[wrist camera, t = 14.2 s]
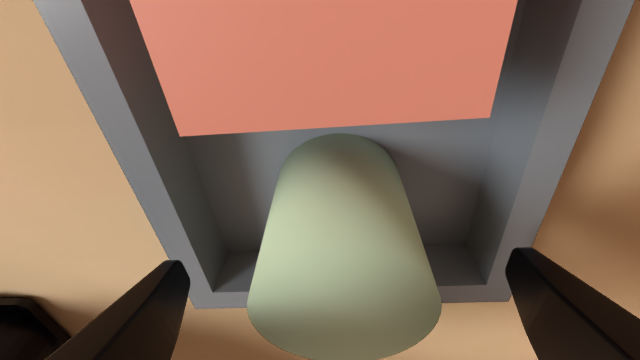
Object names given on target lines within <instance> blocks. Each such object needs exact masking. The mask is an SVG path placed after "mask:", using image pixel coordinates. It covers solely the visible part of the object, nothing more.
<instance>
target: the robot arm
mask: <svg viewBox="0 0 640 360" xmlns="http://www.w3.org/2000/svg"><path fill="white" fill-rule="evenodd" d="M505 275H506V279H507V282H508V284H509V287H510V290H511V293H512V296H513V298H514V301H515V304H516V307H517V310H518V312H519V315H520V318H521V321H522V324H523V326H524V329H525V331H526V334H527V336H528V338H529V341H530V343H531V345H532V347H533V349H534V351H535V353H536V355H537V358H538V360H640V319H639V318H637V317H636V316H634V315H633V314H631V313H630V312H628V311H627V310H625V309H624V308H622V307H621V306H619V305H618V304H616V303H615V302H613V301H612V300H610V299H609V298H607V297H606V296H604V295H603V294H601V293H600V292H598V291H597V290H595V289H594V288H592V287H591V286H589V285H588V284H586V283H585V282H583V281H582V280H580V279H579V278H577V277H576V276H574V275H573V274H571V273H570V272H568V271H567V270H565V269H564V268H562V267H561V266H559V265H558V264H556V263H555V262H553V261H552V260H550V259H549V258H547V257H546V256H544V255H543V254H541V253H540V252H538V251H537V250H535V249H533V248H531V247H516V248H514V249H513V250H512V251H511V254H510V257H509V259H508V262H507V265H506V268H505ZM190 284H191V282H190V277H189V275H188V273H187V271H186V269H185V267H184V265H183V263H182V262H181V261H180V260H166V261H164V262H162V263H161V264H160V265H159V266H158V267H156V268H155V269H154V270H153V271H152V272H150V273H149V274H148V275H147V276H145V277H144V278H143V279H142V280H141V281H139V282H138V283H137V284H136V285H135V286H133V287H132V288H131V289H130V290H129V291H127V292H126V293H125V294H124V295H123V296H121V297H120V298H119V299H118V300H117V301H115V302H114V303H113V304H112V305H111V306H109V307H108V308H107V309H106V310H104V311H103V312H102V313H101V314H100V315H98V316H97V317H96V318H95V319H94V320H92V321H91V322H90V323H89V324H88V325H86V326H85V327H84V328H83V329H82V330H80V331H79V332H78V333H77V334H76V335H74V336H73V337H72V338H71V339H70V338H69V337H68V336H67V335H66V334H65V333H64V332H63V331H62V330H61V329H60V328H59V327H58V326H57V325H56V324H55V323H54V322H53V321H52V320H51V319H50V318H49V317H48V316H47V315H46V314H45V313H44V312H43V311H42V310H41V309H40V308H39V307H38V306H37V305H36V304H35V303H34V302H32V301H31V300H28V299H25V298H0V360H170V359H171V356H172V353H173V350H174V348H175V344H176V341H177V338H178V334H179V331H180V327H181V323H182V318H183V314H184V310H185V306H186V302H187V298H188V294H189V290H190Z"/></svg>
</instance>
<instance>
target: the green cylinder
mask: <svg viewBox="0 0 640 360" xmlns="http://www.w3.org/2000/svg"><path fill="white" fill-rule="evenodd" d="M441 307H442V305H441V297H440V294H439V291H438V288H437V285H436V282H435V279H434V276H433V273H432V270H431V267H430V264H429V261H428V258H427V255H426V252H425V249H424V246H423V243H422V240H421V237H420V234H419V231H418V228H417V225H416V222H415V219H414V217H413V214H412V211H411V208H410V205H409V202H408V199H407V196H406V193H405V190H404V187H403V184H402V181H401V178H400V175H399V172H398V169H397V166H396V164H395V162H394V160H393V159H392V157H391V156H390V155H389V153H388V152H387V151H386V150H385V149H383V148H382V147H381V146H380V145H378V144H377V143H375V142H373V141H371V140H369V139H367V138H364V137H362V136H358V135H354V134H346V133H333V134H326V135H322V136H318V137H315V138H312V139H310V140H308V141H306V142H304V143H302V144H301V145H299V146H298V147H297V148H295V149H294V150H293V151H292V152H291V153H290V154H289V156H288V157H287V158H286V159H285V161H284V163H283V165H282V167H281V170H280V172H279V176H278V180H277V184H276V188H275V192H274V196H273V200H272V204H271V208H270V212H269V216H268V220H267V224H266V228H265V232H264V236H263V240H262V244H261V248H260V251H259V255H258V259H257V263H256V267H255V271H254V275H253V279H252V283H251V287H250V291H249V295H248V300H247V311H248V315H249V318H250V320H251V322H252V324H253V326H254V327H255V329H256V330H257V331H258V332H259V333H260V334H261V335H262V336H263V337H264V338H265V339H266V340H268V341H269V342H270V343H272V344H273V345H275V346H277V347H278V348H280V349H282V350H284V351H287V352H289V353H292V354H294V355H297V356H301V357H304V358H308V359H313V360H376V359H381V358H385V357H388V356H391V355H394V354H397V353H400V352H402V351H404V350H407V349H408V348H410V347H412V346H414V345H416V344H417V343H418V342H420V341H421V340H423V339H424V338H425V337H426V336H427V335H428V334H429V333H430V332H431V331H432V329H433V328H434V327H435V325H436V323H437V322H438V320H439V317H440V314H441Z"/></svg>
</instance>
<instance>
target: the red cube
mask: <svg viewBox="0 0 640 360" xmlns="http://www.w3.org/2000/svg"><path fill="white" fill-rule="evenodd" d="M517 1H518V0H130V3H131V6H132V8H133V11H134V14H135V17H136V19H137V22H138V25H139V27H140V30H141V33H142V36H143V38H144V41H145V44H146V46H147V49H148V52H149V55H150V57H151V60H152V63H153V65H154V68H155V71H156V73H157V76H158V79H159V82H160V84H161V87H162V90H163V92H164V95H165V98H166V101H167V103H168V106H169V109H170V111H171V114H172V117H173V120H174V122H175V125H176V128H177V130H178V133H179V136H180V137H181V136H198V135H214V134H230V133H247V132H263V131H279V130H296V129H312V128H328V127H345V126H361V125H378V124H394V123H410V122H427V121H443V120H459V119H476V118H490V114H491V109H492V105H493V101H494V97H495V93H496V89H497V84H498V80H499V76H500V72H501V68H502V64H503V60H504V55H505V51H506V47H507V43H508V39H509V35H510V30H511V26H512V22H513V18H514V14H515V10H516V6H517Z"/></svg>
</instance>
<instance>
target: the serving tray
mask: <svg viewBox="0 0 640 360" xmlns="http://www.w3.org/2000/svg"><path fill="white" fill-rule="evenodd" d="M33 1H34V3H35V5H36V7H37V9H38V11H39V13H40V15H41V16H42V18H43V20H44V22H45V24H46V26H47V28H48V30H49V32H50V34H51V35H52V37H53V39H54V41H55V43H56V45H57V47H58V49H59V51H60V53H61V54H62V56H63V58H64V60H65V62H66V64H67V66H68V68H69V70H70V72H71V73H72V75H73V77H74V79H75V81H76V83H77V85H78V87H79V89H80V91H81V92H82V94H83V96H84V98H85V100H86V102H87V104H88V106H89V108H90V110H91V112H92V113H93V115H94V117H95V119H96V121H97V123H98V125H99V127H100V129H101V131H102V132H103V134H104V136H105V138H106V140H107V142H108V144H109V146H110V148H111V150H112V151H113V153H114V155H115V157H116V159H117V161H118V163H119V165H120V167H121V169H122V170H123V172H124V174H125V176H126V178H127V180H128V182H129V184H130V186H131V188H132V189H133V191H134V193H135V195H136V197H137V199H138V201H139V203H140V205H141V207H142V208H143V210H144V212H145V214H146V216H147V218H148V220H149V222H150V224H151V226H152V227H153V229H154V231H155V233H156V235H157V237H158V239H159V241H160V243H161V245H162V246H163V248H164V250H165V252H166V254H167V256H168V258H169V260H180V261H181V262H182V263H183V265H184V267H185V269H186V271H187V273H188V275H189V277H190V282H191V284H190V290H189V294H188V296H189V298H190V300H191V302H192V304H193V305H194V307H195V309H212V308H247V300H248V295H249V291H250V287H251V283H252V279H253V275H254V271H255V267H256V263H257V259H258V255H259V251H260V248H261V244H262V240H263V236H264V232H265V228H266V224H267V220H268V216H269V212H270V208H271V204H272V200H273V196H274V192H275V188H276V184H277V180H278V176H279V172H280V170H281V167H282V165H283V163H284V161H285V159H286V158H287V157H288V156H289V154H290V153H291V152H292V151H293V150H294V149H295V148H297V147H298V146H299V145H301V144H302V143H304V142H306V141H308V140H310V139H312V138H315V137H318V136H322V135H326V134H333V133H346V134H354V135H358V136H362V137H364V138H367V139H369V140H371V141H373V142H375V143H377V144H378V145H380V146H381V147H382V148H383V149H385V150H386V151H387V152H388V153H389V155H390V156H391V157H392V159H393V160H394V162H395V164H396V166H397V169H398V172H399V175H400V178H401V181H402V184H403V187H404V190H405V193H406V196H407V199H408V202H409V205H410V208H411V211H412V214H413V217H414V219H415V222H416V225H417V228H418V231H419V234H420V237H421V240H422V243H423V246H424V249H425V252H426V255H427V258H428V261H429V264H430V267H431V270H432V273H433V276H434V279H435V282H436V285H437V288H438V291H439V294H440V297H441V303H465V302H507V301H509V299H510V297H511V295H512V293H511V290H510V287H509V284H508V282H507V279H506V275H505V268H506V265H507V262H508V259H509V257H510V254H511V251H512V250H513V249H514V248H516V247H532V244H533V242H534V240H535V237H536V235H537V233H538V230H539V228H540V225H541V223H542V221H543V218H544V216H545V213H546V211H547V209H548V206H549V204H550V201H551V199H552V197H553V194H554V192H555V190H556V187H557V185H558V182H559V180H560V178H561V175H562V173H563V170H564V168H565V166H566V163H567V161H568V159H569V156H570V154H571V151H572V149H573V147H574V144H575V142H576V139H577V137H578V135H579V132H580V130H581V127H582V125H583V123H584V120H585V118H586V116H587V113H588V111H589V108H590V106H591V104H592V101H593V99H594V96H595V94H596V92H597V89H598V87H599V85H600V82H601V80H602V77H603V75H604V73H605V70H606V68H607V65H608V63H609V61H610V58H611V56H612V53H613V51H614V49H615V46H616V44H617V42H618V39H619V37H620V34H621V32H622V30H623V27H624V25H625V22H626V20H627V18H628V15H629V13H630V11H631V8H632V6H633V3H634V1H635V0H518V1H517V6H516V10H515V14H514V18H513V22H512V26H511V30H510V35H509V39H508V43H507V47H506V51H505V55H504V60H503V64H502V68H501V72H500V76H499V80H498V84H497V89H496V93H495V97H494V101H493V105H492V109H491V114H490V118H476V119H459V120H443V121H427V122H410V123H394V124H378V125H361V126H345V127H328V128H312V129H296V130H279V131H263V132H247V133H230V134H214V135H198V136H181V137H180V136H179V133H178V130H177V128H176V125H175V122H174V120H173V117H172V114H171V111H170V109H169V106H168V103H167V101H166V98H165V95H164V92H163V90H162V87H161V84H160V82H159V79H158V76H157V73H156V71H155V68H154V65H153V63H152V60H151V57H150V55H149V52H148V49H147V46H146V44H145V41H144V38H143V36H142V33H141V30H140V27H139V25H138V22H137V19H136V17H135V14H134V11H133V8H132V6H131V3H130V0H33Z"/></svg>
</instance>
